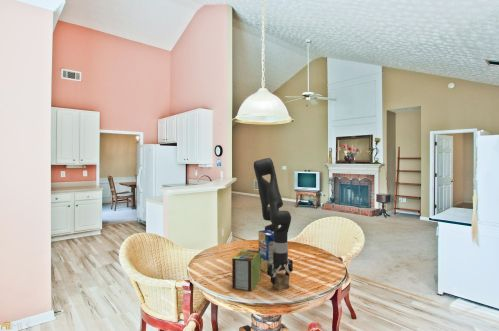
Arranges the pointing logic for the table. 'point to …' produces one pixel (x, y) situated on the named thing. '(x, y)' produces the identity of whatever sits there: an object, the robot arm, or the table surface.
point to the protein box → (246, 269)
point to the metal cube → (281, 281)
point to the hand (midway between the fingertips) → (280, 282)
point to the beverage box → (266, 248)
